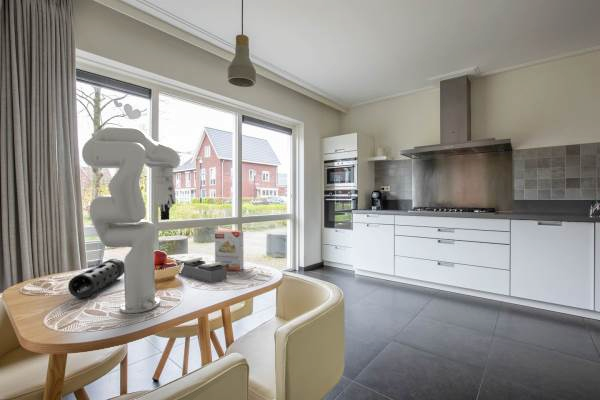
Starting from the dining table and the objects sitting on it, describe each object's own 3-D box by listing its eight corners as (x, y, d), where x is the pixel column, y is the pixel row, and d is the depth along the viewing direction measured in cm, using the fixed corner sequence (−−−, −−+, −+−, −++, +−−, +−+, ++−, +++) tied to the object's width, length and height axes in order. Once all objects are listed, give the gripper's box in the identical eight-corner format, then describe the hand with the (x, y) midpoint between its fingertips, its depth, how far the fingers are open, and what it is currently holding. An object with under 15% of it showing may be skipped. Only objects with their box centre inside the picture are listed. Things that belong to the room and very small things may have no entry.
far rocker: (202, 260, 143) (201, 257, 144) (193, 262, 139) (193, 259, 139) (193, 262, 148) (192, 259, 148) (184, 264, 144) (184, 261, 144)
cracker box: (214, 270, 149) (214, 231, 149) (219, 267, 155) (219, 229, 155) (239, 271, 147) (239, 231, 147) (243, 268, 153) (243, 230, 153)
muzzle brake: (67, 301, 108) (66, 274, 108) (106, 279, 136) (105, 257, 135) (94, 300, 109) (94, 273, 109) (127, 278, 137) (127, 257, 137)
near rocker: (220, 265, 135) (219, 261, 135) (211, 268, 131) (211, 264, 131) (209, 265, 140) (209, 262, 140) (201, 268, 136) (200, 264, 136)
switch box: (226, 277, 136) (226, 265, 136) (210, 282, 129) (210, 269, 128) (194, 269, 151) (194, 258, 151) (178, 273, 144) (178, 261, 143)
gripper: (180, 180, 131) (181, 219, 131) (163, 181, 139) (164, 218, 140) (165, 179, 124) (165, 221, 125) (148, 180, 133) (149, 219, 133)
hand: (165, 219), depth 132 cm, fingers closed
